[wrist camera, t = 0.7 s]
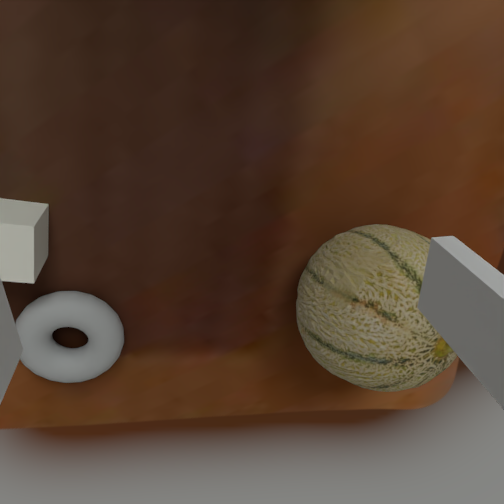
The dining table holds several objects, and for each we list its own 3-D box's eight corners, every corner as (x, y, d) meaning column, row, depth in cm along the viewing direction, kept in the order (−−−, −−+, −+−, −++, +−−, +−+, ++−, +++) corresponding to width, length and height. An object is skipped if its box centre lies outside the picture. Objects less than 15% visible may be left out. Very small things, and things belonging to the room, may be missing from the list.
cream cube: (-16, 195, 37) (-40, 218, 33) (48, 203, 38) (33, 226, 34) (-14, 249, 39) (-36, 277, 35) (48, 255, 40) (34, 283, 36)
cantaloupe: (250, 274, 45) (285, 378, 32) (361, 169, 42) (451, 235, 29) (340, 348, 51) (400, 460, 38) (442, 261, 48) (546, 350, 35)
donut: (40, 267, 41) (3, 349, 44) (31, 286, 38) (-9, 372, 41) (142, 306, 45) (101, 379, 48) (141, 325, 42) (97, 402, 45)
